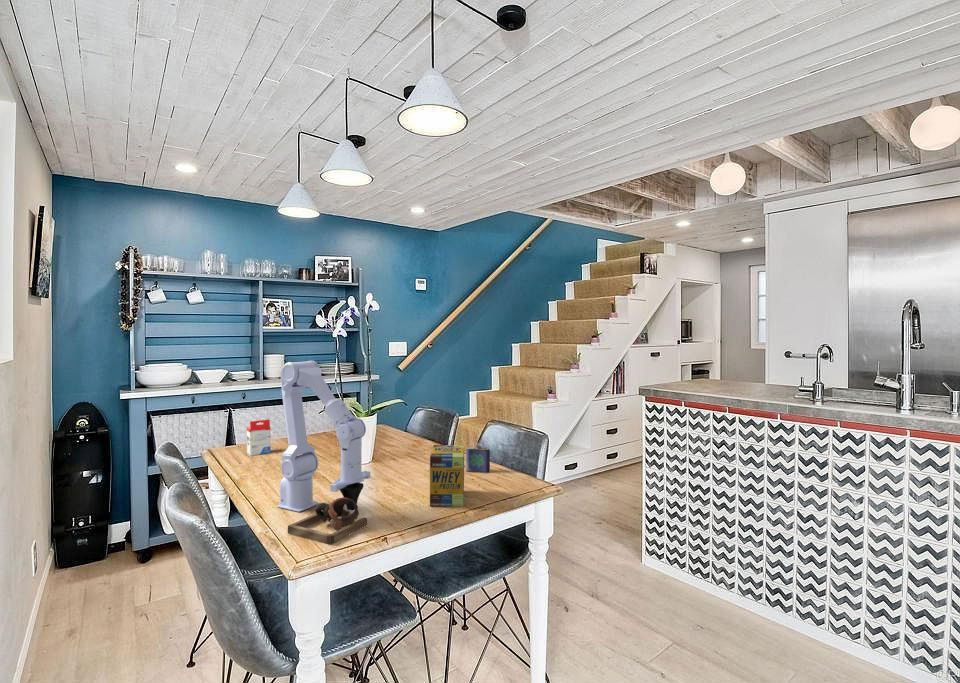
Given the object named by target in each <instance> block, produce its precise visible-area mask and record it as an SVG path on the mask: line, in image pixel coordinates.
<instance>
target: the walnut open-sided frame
mask: <svg viewBox="0 0 960 683" xmlns="http://www.w3.org/2000/svg"><path fill="white" fill-rule="evenodd" d="M322 512H323V511H322ZM321 521H323V519H322V518H320V517H319V516H318V515H317V514H316V513H313V514H312V515H310V516H307V517H305V518H302V519H301V520H298V521H296V522H294V523H291V524H288V525H287V534H289V535H293V536H295V537H300V538H304V539H307V540H311V541H316V542H317V543H322V544H327V545H333V544H335V543H337V542H339V541H340V539H341V540H343V539H344V538H346V537H348V536H350V535H352V534H353V532H354V533H356V532H358V531H359V530H361V529H363V528H365V527H366V525H367V526H368V517H362V518H360V519H357V520H355V522H353V523H352V524H350V525H348V526H345V527H343V528H342V527H341V529H340V530H338V531H336V530H335V531H334V532H332V533H328V532H325V531H324V532H323V531H319V530H315V529H310V528H308V527H310V526H312V525H314V524H316V523H318V522H321ZM364 526H365V527H364ZM362 527H363V528H362ZM360 528H361V529H360ZM358 529H359V530H358ZM355 531H356V532H355ZM351 533H352V534H351ZM349 534H350V535H349ZM342 538H343V539H342Z"/></svg>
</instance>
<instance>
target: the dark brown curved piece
mask: <svg viewBox="0 0 960 683" xmlns="http://www.w3.org/2000/svg"><path fill="white" fill-rule="evenodd" d="M348 503H351V504H352V505H353V506H354V507H355V510H353V512H352V513H350V510H347V509H344V507H345V505H346V504H348ZM315 506H316V507H315V508H314V511H315V514H317V515H318V516H319V517H320V518H322V519H323V520H322V521H323V523H326V522H327V521H328V522H330V521H333V522H334V526H332V527H333V528H332V529H333V531H335V532H336V531H338V530H340V529H342V528H344V527H346V526H348V525H350V524H352V523H354V522H356V521H357V520H358V518H359V515H360V511H359V506H358V502H357V503H356V502H355V501H354V500H352V499H350V498H345V497H337V498H336V499H334V500H333V501H332V502H331V503H326V502H319V504H318V505H315ZM322 511H323V512H322Z"/></svg>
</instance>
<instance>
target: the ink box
mask: <svg viewBox="0 0 960 683" xmlns="http://www.w3.org/2000/svg"><path fill="white" fill-rule="evenodd" d="M270 422H271V420H270V419H260V420H259V419H258V420H250V421H249V426H247V427H246V453H247V455H249V456H250V457H251V456H257V455H258V456H259V455H264V454H265V455H266V454H271V452H272V451H271V450H272V449H271V445H272V444H271V423H270ZM259 423H260V424H259Z"/></svg>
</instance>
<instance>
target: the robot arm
mask: <svg viewBox="0 0 960 683" xmlns="http://www.w3.org/2000/svg"><path fill="white" fill-rule="evenodd" d="M322 373H323V371H322V369H321V367H320V366H319V364H318V363H317V362H316V361H315V360H307V361H293V362H292V361H288V362H286V363H285V364H284V365H283V366H282V368H281V369H280V370H279V374H280V376H279V377H280V382H281V396H282V397H281V398H282V404H283V411H284V418H285V427H286V434H287V435H286V436H287V442H288V447H287V448H286V449H285V450H284V452H283V453H281V459H282V460H281V461H282V462H281V464H280V465H281V466H280V470H281V474H282V475H283V477H282V479H281V481H280V483H279V504H277V505H276V506H277V508H281V509H285V510H290V511H293V512H298V513H300V512H303V511H305V510H308V509H310V508H312V507H315V506H317V505H318V504H320V502H319V501H315V500H314V495H313V494H314V492H313V491H314V487H313V486H314V485H313V484H314V483H313V481H314V477H313V476H315V472H316V471H317V470H318V468H319V458H318V456H317V455H316V451H315V448H314V446H312V445H311V444H309V443H308V436H307V428H306V421H305V412H304V406H303V405H304V404H303V397H302V393H303V391H304V390H305V389H306V387H307V388H310V389H311V391H313V393H314V394H315V395H316V396H317V398H318V399H319V400H320V401H321V402H322V403H323V405H324V413H325V414H326V415H327V417H328V419H330V421H331V423H332V424H333V425H334V427H335V428H336V430H335V434H336V438H337V439H338V442H339V448H340V478H338V479H337V480H335V481H334V482H331V483H330V485H329V486H330V488H329V489H330V492H334V493H337V492H338V491H340V493H341V495H342V496H343V497H345V498H350V499H352V500H354V501H355V502H356V503H357V504H358V500H359V497H360V494H361V492H362V490H363V488H364V482H365V480H366V479H367V480H369V479H371V471H369V470H363V471H362V464H363V463H362V462H363V461H362V458H363V457H362V438H363V437H365V434H366V431H367V427H366V424H365V422H364V420H363V419H361V418H358V417H356V416H355V415H354V414H353V413H352V412H351V410H350V409H349V408H348V407H347V405H346V402H345V401H344V400H342V399H340V398H336V396H334V393H333V392H332V391H331V389H330V387H329V385H328V384H327V382H326V381H325V379H324V378H323V376H322ZM346 511H353V512H354V511H355V507H354V506H353V505H352V504H351V503H348V504H346Z"/></svg>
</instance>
